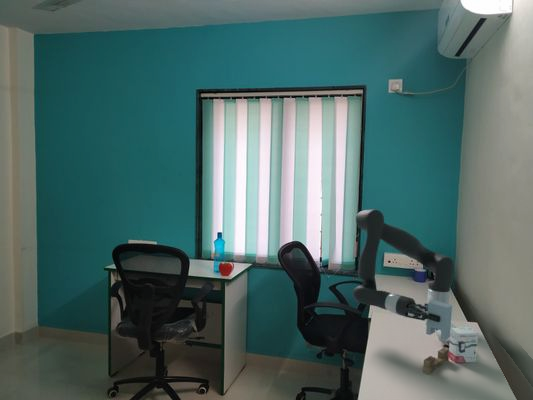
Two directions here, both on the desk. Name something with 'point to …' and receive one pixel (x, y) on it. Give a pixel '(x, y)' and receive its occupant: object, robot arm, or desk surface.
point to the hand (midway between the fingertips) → (442, 317)
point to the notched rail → (435, 361)
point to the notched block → (445, 318)
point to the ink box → (463, 345)
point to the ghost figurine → (447, 341)
